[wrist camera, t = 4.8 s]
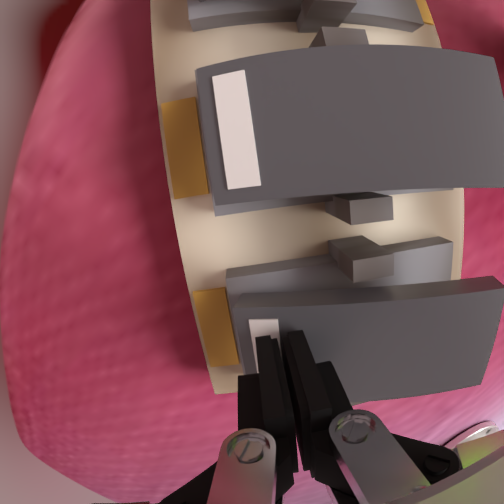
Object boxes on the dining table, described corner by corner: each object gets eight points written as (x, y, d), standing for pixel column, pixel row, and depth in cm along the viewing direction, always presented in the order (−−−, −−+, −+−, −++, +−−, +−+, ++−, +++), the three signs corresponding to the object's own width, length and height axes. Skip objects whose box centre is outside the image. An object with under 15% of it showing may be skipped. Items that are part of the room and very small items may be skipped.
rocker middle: (479, 65, 7) (494, 56, 6) (495, 184, 8) (514, 188, 7) (209, 77, 9) (195, 68, 8) (226, 200, 10) (214, 206, 9)
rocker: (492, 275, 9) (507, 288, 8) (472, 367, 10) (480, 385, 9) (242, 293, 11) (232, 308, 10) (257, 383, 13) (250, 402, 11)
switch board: (389, -36, 10) (424, -73, 5) (434, 327, 16) (477, 368, 12) (157, -34, 10) (136, -85, 5) (216, 372, 16) (212, 435, 12)
